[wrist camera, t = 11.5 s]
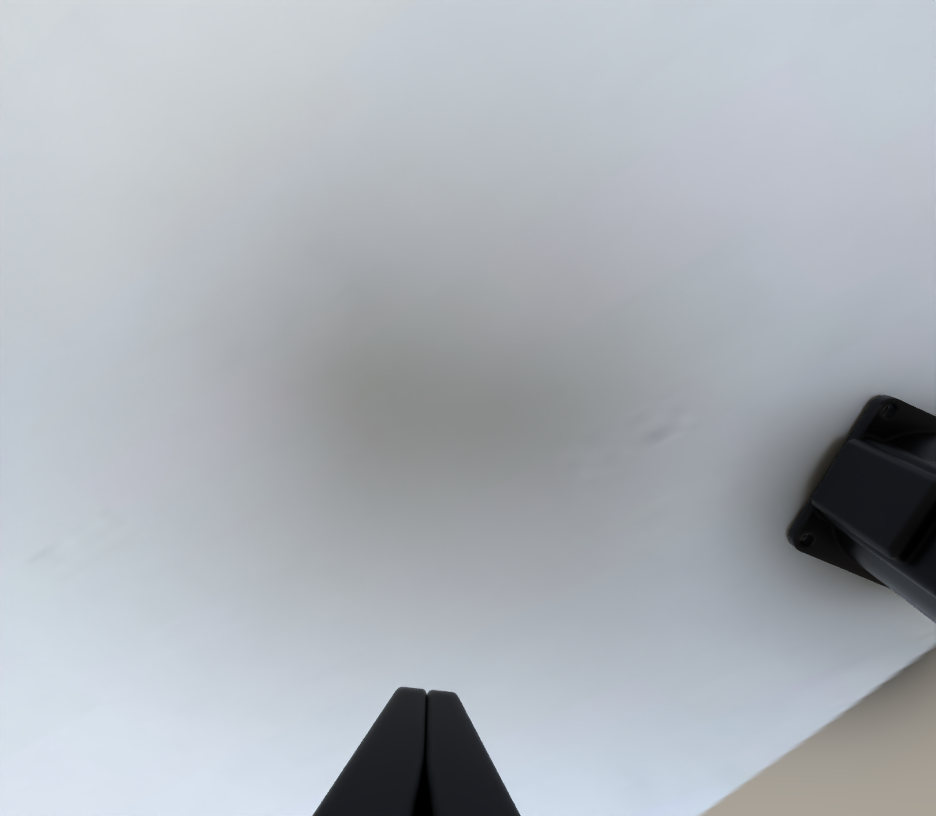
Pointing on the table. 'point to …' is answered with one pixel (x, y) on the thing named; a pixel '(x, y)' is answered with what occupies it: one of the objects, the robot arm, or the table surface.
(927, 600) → the robot arm
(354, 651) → the table surface
